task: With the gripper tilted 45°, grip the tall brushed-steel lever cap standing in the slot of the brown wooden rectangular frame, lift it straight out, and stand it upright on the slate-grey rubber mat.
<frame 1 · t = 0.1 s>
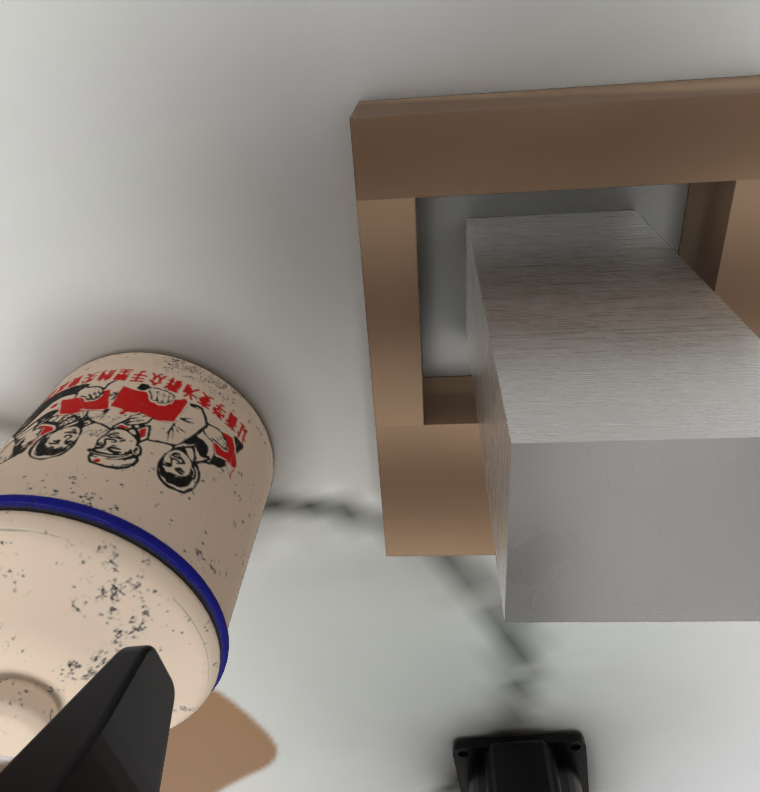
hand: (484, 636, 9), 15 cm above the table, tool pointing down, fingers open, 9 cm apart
brown wooden rectangular frame: (545, 277, 22), on the table
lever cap: (584, 366, 16), in the brown wooden rectangular frame
teacup with lid: (127, 439, 26), on the table
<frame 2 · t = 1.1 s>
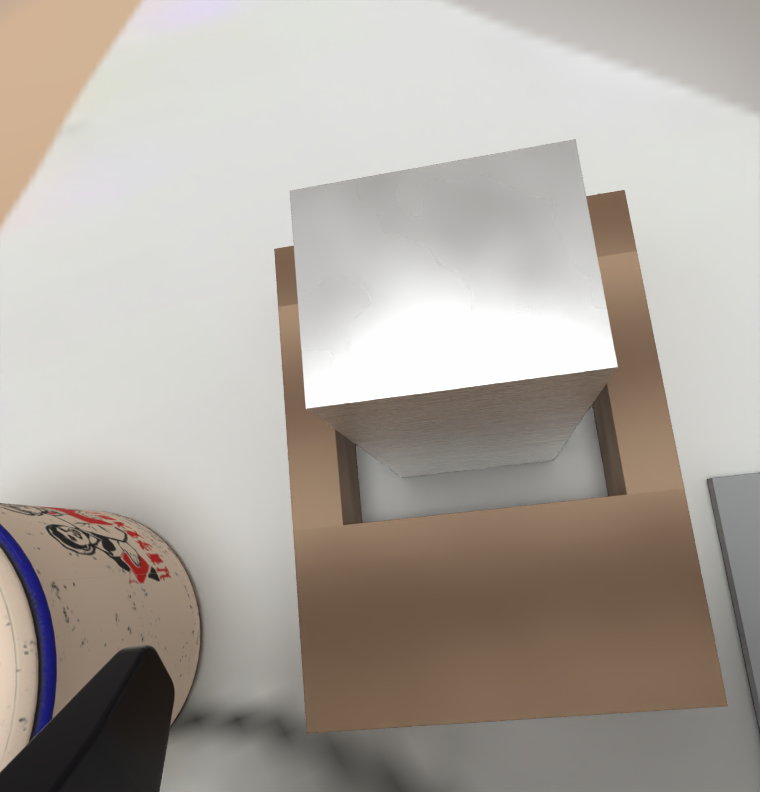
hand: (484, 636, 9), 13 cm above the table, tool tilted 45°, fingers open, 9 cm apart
brown wooden rectangular frame: (469, 410, 23), on the table
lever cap: (460, 364, 17), in the brown wooden rectangular frame
teacup with lid: (53, 631, 24), on the table
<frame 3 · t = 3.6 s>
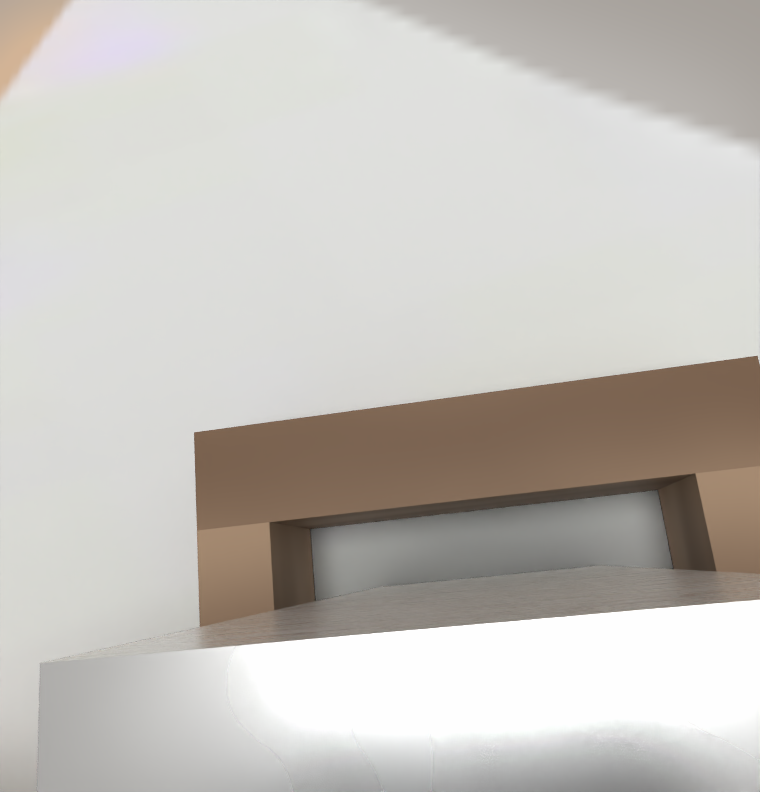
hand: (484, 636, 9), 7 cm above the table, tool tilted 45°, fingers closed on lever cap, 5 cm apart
brown wooden rectangular frame: (499, 671, 15), on the table
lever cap: (499, 741, 9), in the brown wooden rectangular frame, touching gripper
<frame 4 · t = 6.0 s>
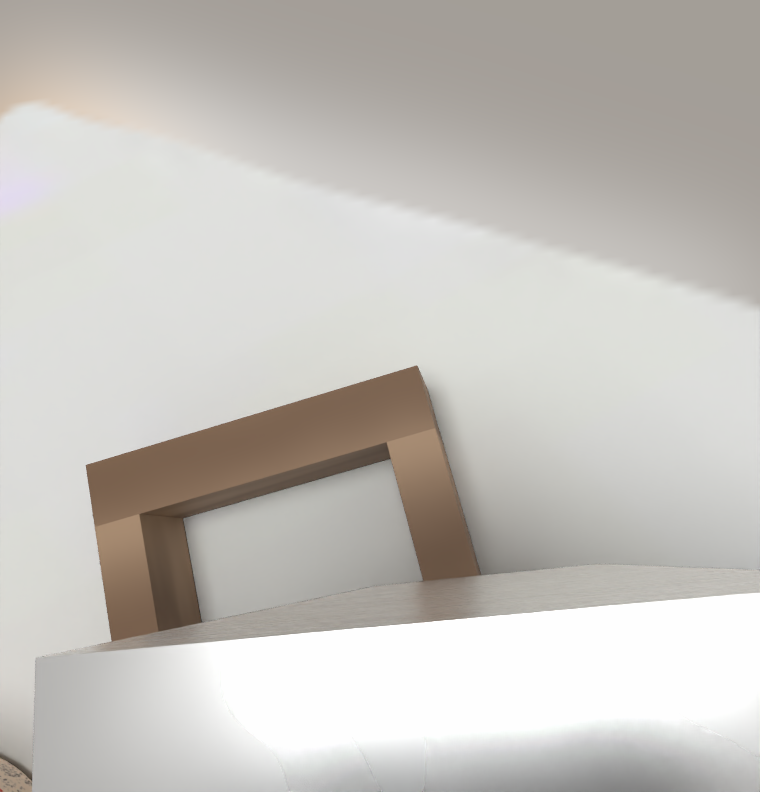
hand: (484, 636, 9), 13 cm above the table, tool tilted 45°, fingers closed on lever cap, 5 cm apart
brown wooden rectangular frame: (312, 589, 23), on the table
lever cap: (497, 739, 9), point 13 cm above the table, touching gripper
when the fingers open (8 cm above the table, at t = 8.5 s): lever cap drops 1 cm, resting on rubber mat.
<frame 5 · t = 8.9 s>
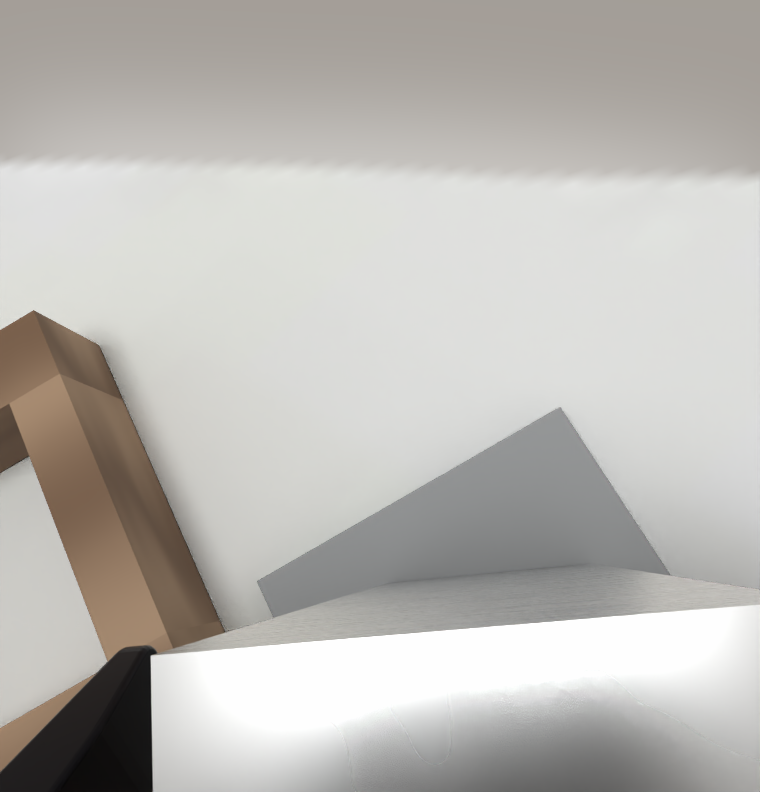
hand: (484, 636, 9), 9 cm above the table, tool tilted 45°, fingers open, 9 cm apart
brown wooden rectangular frame: (2, 601, 19), on the table
rubber mat: (499, 657, 17), on the table
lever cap: (499, 721, 10), on the rubber mat
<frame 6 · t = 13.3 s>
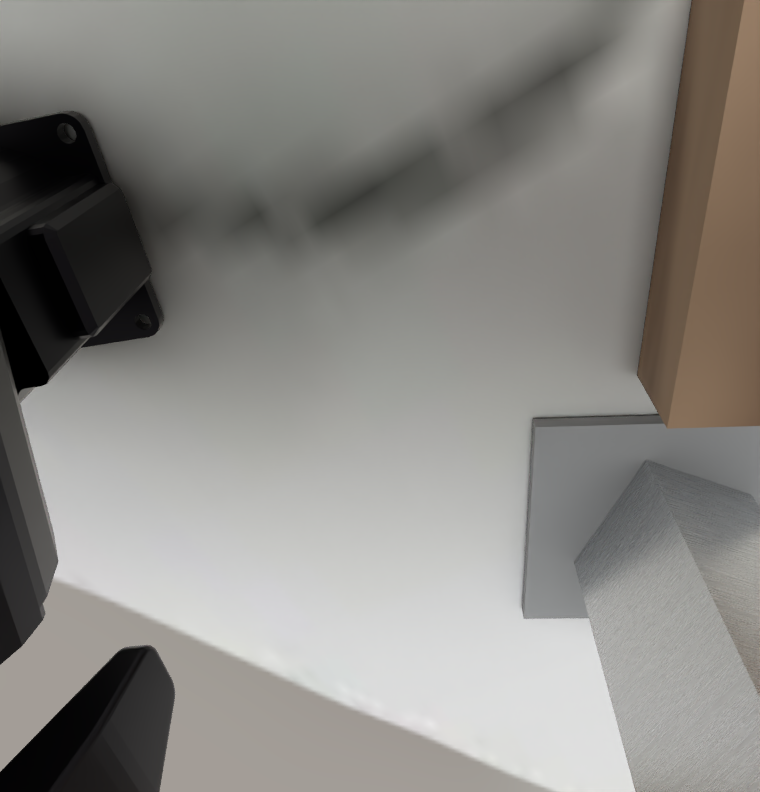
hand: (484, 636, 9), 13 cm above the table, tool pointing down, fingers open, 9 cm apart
rubber mat: (654, 520, 24), on the table
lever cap: (724, 678, 19), on the rubber mat
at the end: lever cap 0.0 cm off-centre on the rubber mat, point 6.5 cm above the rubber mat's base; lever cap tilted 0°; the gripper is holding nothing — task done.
